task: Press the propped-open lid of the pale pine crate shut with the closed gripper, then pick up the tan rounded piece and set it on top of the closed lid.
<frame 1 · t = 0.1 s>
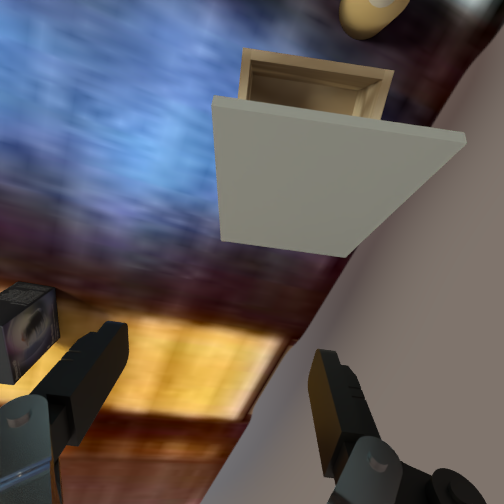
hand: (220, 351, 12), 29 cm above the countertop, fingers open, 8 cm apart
crate: (291, 156, 36), on the countertop
lid: (302, 204, 24), point 15 cm above the countertop, hinge at 45.0°
small box: (41, 310, 47), on the countertop
tan rounded piece: (365, 8, 30), on the countertop
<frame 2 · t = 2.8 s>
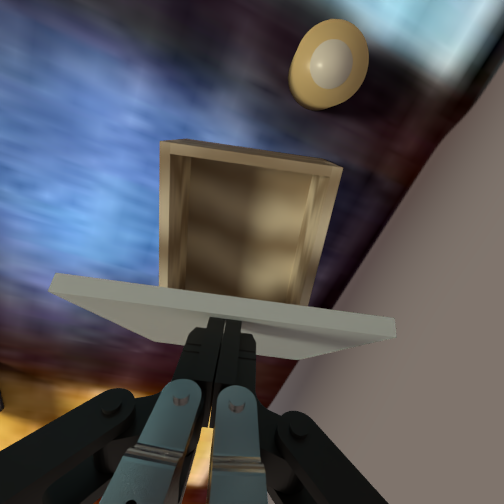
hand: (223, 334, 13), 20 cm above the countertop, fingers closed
crate: (243, 231, 32), on the countertop
lid: (227, 334, 20), point 14 cm above the countertop, hinge at 42.6°, touching gripper
tan rounded piece: (318, 76, 26), on the countertop
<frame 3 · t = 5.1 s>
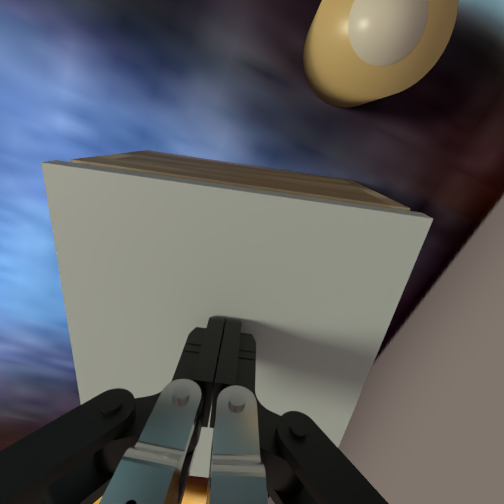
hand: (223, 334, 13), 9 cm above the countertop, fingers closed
crate: (235, 282, 22), on the countertop
lid: (220, 365, 14), point 9 cm above the countertop, hinge at 1.5°, touching gripper
tan rounded piece: (351, 53, 16), on the countertop
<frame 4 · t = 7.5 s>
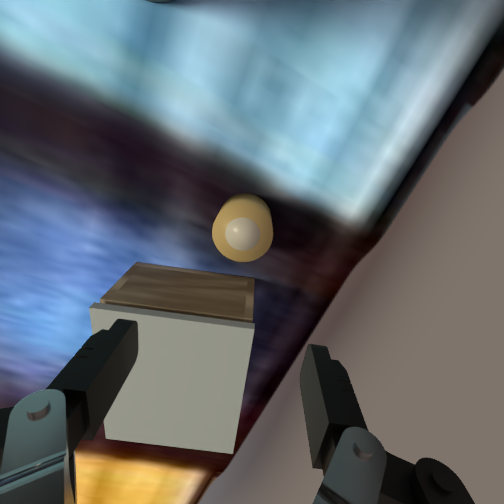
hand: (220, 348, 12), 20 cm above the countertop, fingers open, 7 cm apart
crate: (191, 331, 37), on the countertop
lid: (172, 387, 28), point 9 cm above the countertop, hinge at 1.5°
tan rounded piece: (245, 219, 30), on the countertop
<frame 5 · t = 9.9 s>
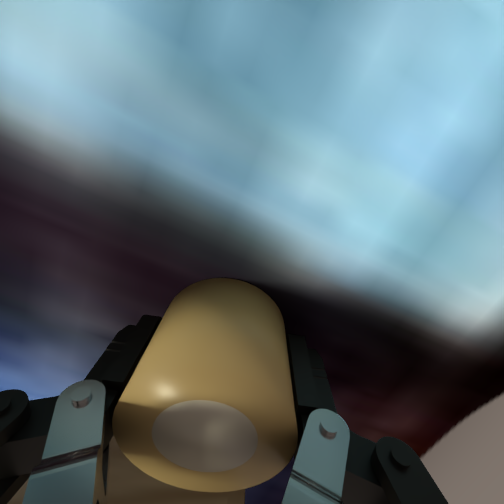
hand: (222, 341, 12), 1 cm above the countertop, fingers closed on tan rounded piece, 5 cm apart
tan rounded piece: (224, 330, 13), on the countertop, touching gripper
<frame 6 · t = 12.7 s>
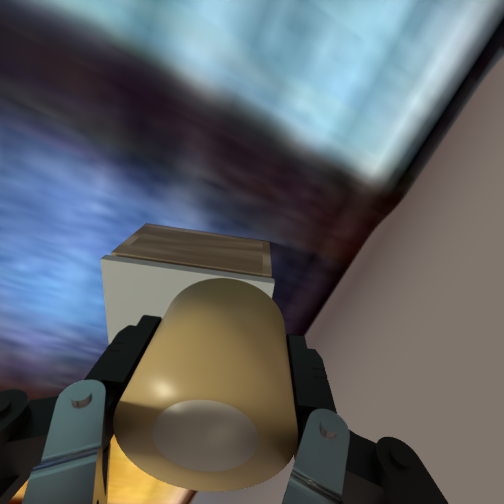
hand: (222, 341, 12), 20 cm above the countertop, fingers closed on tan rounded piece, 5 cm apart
crate: (202, 299, 35), on the countertop
lid: (185, 349, 27), point 9 cm above the countertop, hinge at 1.5°
tan rounded piece: (224, 330, 13), point 19 cm above the countertop, touching gripper
when the fingers open (11 cm above the countertop, at t = 15.5 s): tan rounded piece drops 1 cm, resting on lid.
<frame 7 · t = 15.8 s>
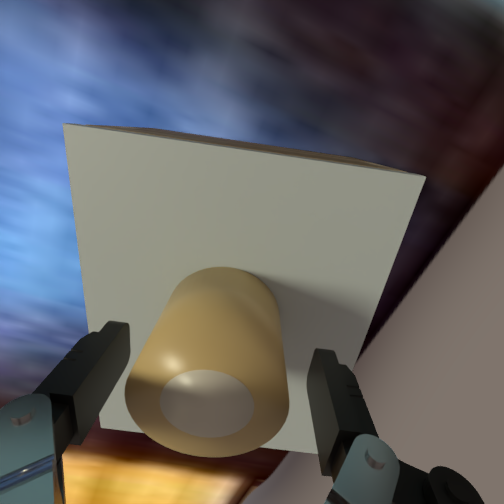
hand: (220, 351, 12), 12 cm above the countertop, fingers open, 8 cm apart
crate: (238, 259, 23), on the countertop
lid: (226, 326, 15), point 9 cm above the countertop, hinge at 0.9°, touching tan rounded piece
tan rounded piece: (223, 316, 14), point 9 cm above the countertop, touching lid
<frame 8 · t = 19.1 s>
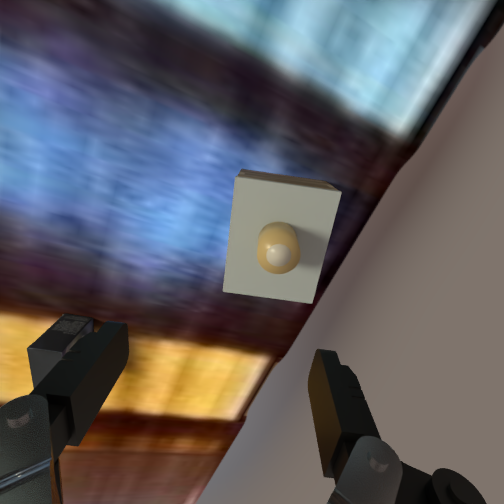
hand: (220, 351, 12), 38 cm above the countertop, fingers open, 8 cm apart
crate: (274, 227, 49), on the countertop
lid: (277, 245, 41), point 9 cm above the countertop, hinge at 0.9°, touching tan rounded piece
small box: (81, 334, 60), on the countertop
tan rounded piece: (277, 239, 41), point 9 cm above the countertop, touching lid
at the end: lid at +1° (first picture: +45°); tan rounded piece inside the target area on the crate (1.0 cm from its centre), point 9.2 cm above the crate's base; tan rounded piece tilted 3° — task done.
